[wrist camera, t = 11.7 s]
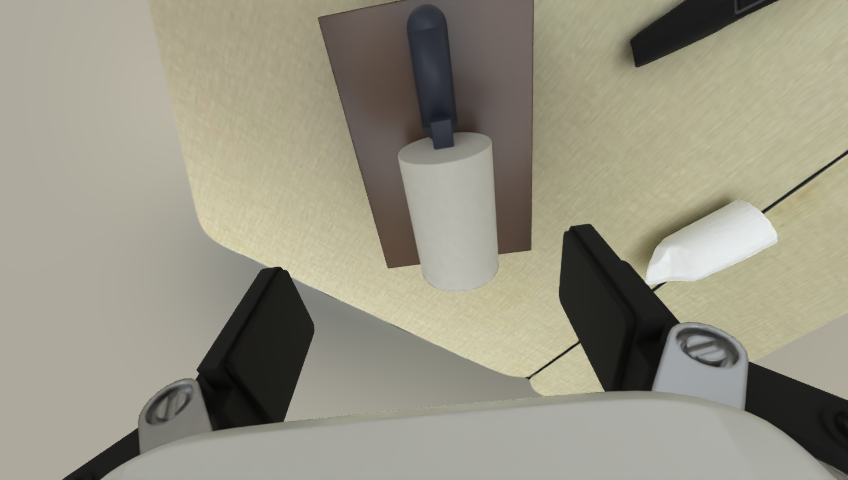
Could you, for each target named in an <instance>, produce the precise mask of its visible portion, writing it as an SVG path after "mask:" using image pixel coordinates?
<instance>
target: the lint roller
mask: <svg viewBox="0 0 848 480" xmlns="http://www.w3.org/2000/svg"><path fill="white" fill-rule="evenodd" d="M407 35H408V42H409V48H410V54H411V60H412V66H413V72H414V78H415V85H416V91H417V97H418V103H419V109H420V115H421V121H422V127H423V130H424V132H425V134H426V135H427V136H428V137H427V138H424V139H420V140H418V141H415V142H413V143H411V144H409V145H407V146H405V147H404V148H403V149H401V150H400V152H399V153H398V160H399V165H400V170H401V174H402V179H403V184H404V188H405V193H406V198H407V203H408V207H409V212H410V217H411V222H412V226H413V231H414V236H415V240H416V245H417V250H418V255H419V259H420V264H421V269H422V273H423V276H424V278H425V280H426V281H427V282H428V283H429V284H430V285H432V286H433V287H435V288H438V289H441V290H445V291H452V292H460V291H468V290H472V289H475V288H478V287H480V286H482V285H484V284H486V283H488V282H489V281H490V280H491V279H492V278H493V277H494V276H495V274H496V273H497V270H498V267H499V262H498V244H497V226H496V208H495V190H494V172H493V154H492V141H491V139H490V138H489V137H488V136H485V135H483V134H478V133H470V132H457V133H454V132H455V131H456V128H457V112H456V103H455V93H454V84H453V75H452V65H451V56H450V47H449V37H448V28H447V22H446V18H445V16H444V14H443V12H442V11H441V10H440V9H439V8H438V7H436V6H434V5H432V4H423V5H420V6H418V7H416V8H415V9H414V10H413V11H412V13H411V14H410V16H409V18H408V22H407Z"/></svg>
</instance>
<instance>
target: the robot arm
mask: <svg viewBox="0 0 848 480" xmlns="http://www.w3.org/2000/svg"><path fill="white" fill-rule="evenodd" d="M559 298H560V302H561V305H562V307H563V309H564V311H565V313H566V315H567V317H568V319H569V321H570V323H571V325H572V327H573V329H574V331H575V333H576V335H577V337H578V339H579V341H580V343H581V345H582V347H583V349H584V351H585V353H586V355H587V357H588V359H589V361H590V363H591V365H592V367H593V369H594V371H595V373H596V375H597V377H598V379H599V381H600V383H601V385H602V387H603V389H604V391H605V392H596V393H582V394H569V395H556V396H544V397H533V398H522V399H512V400H501V401H491V402H479V403H469V404H458V405H449V406H437V407H427V408H418V409H408V410H397V411H387V412H376V413H366V414H357V415H347V416H337V417H328V418H318V419H308V420H299V421H289V422H284V419H285V416H286V413H287V410H288V407H289V404H290V402H291V399H292V396H293V393H294V390H295V387H296V384H297V381H298V378H299V375H300V372H301V370H302V367H303V364H304V361H305V358H306V355H307V352H308V349H309V346H310V343H311V341H312V338H313V335H314V324H313V321H312V319H311V317H310V315H309V313H308V311H307V309H306V308H305V305H304V303H303V301H302V299H301V297H300V295H299V293H298V291H297V289H296V287H295V285H294V283H293V281H292V279H291V277H290V275H289V273H288V271H287V270H283V269H282V268H281V267H272V268H266V269H262V270H261V271H260V272H259V274H258V275H257V277H256V279H255V280H254V282H253V283H252V285H251V286H250V288H249V289H248V291H247V292H246V294H245V295H244V297H243V299H242V300H241V302H240V303H239V305H238V306H237V308H236V309H235V311H234V312H233V314H232V316H231V317H230V319H229V320H228V322H227V323H226V325H225V326H224V328H223V330H222V331H221V333H220V334H219V336H218V337H217V339H216V340H215V342H214V344H213V345H212V347H211V348H210V350H209V351H208V353H207V354H206V356H205V358H204V359H203V361H202V362H201V364H200V365H199V367H198V368H197V371H198V372H199V375H198V377H197V378H196V380H194V379H192V378H189V379H182V380H178V381H175V382H173V383H171V384H169V385H167V386H166V387H164V388H163V389H161V390H160V391H158V392H157V393H156V394H155V395H154V396H153V397H152V398H151V399H150V400H149V401H148V402H147V403H146V405H145V406H144V408H143V409H142V411H141V413H140V415H139V420H138V428H137V429H135V430H134V431H133V432H131V433H130V434H128V435H127V436H125V437H124V438H122V439H121V440H120V441H118V442H116V443H115V444H114V445H112V446H111V447H109V448H108V449H106V450H105V451H103V452H102V453H100V454H99V455H97V456H96V457H94V458H93V459H92V460H90V461H89V462H87V463H86V464H84V465H83V466H81V467H80V468H78V469H77V470H76V471H74V472H72V473H71V474H70V475H68V476H67V477H65V478H64V479H63V480H848V400H845V399H843V398H840V397H838V396H835V395H833V394H830V393H828V392H825V391H823V390H820V389H817V388H815V387H812V386H810V385H807V384H805V383H802V382H800V381H797V380H795V379H792V378H790V377H787V376H784V375H782V374H779V373H777V372H774V371H772V370H769V369H767V368H764V367H762V366H759V365H757V364H754V363H751V362H749V360H748V355H747V352H746V350H745V349H744V347H743V346H742V344H741V343H740V342H738V341H737V340H736V339H735V338H734V337H733V336H731V335H729V334H728V333H726V332H724V331H723V330H721V329H718V328H716V327H713V326H711V325H707V324H702V323H695V322H686V323H680V322H679V321H678V320H677V319H676V318H675V316H674V315H673V314H672V313H671V312H670V311H669V309H668V308H667V307H666V306H665V305H664V304H663V302H662V301H661V300H660V299H659V298H658V297H657V295H656V294H655V293H654V292H653V291H652V290H651V289H650V287H649V286H648V285H647V284H646V283H645V282H644V280H643V279H642V278H641V277H640V276H639V275H638V273H637V272H636V271H635V270H634V269H633V268H632V266H631V265H630V264H629V263H627V262H626V261H623V260H622V261H621V259H620V258H619V257H618V256H617V255H616V253H615V252H614V251H613V250H612V249H611V248H610V246H609V245H608V244H607V243H606V242H605V240H604V239H603V238H602V237H601V236H600V234H599V233H598V232H597V231H596V230H595V229H594V227H593V226H592V225H591V224H584V225H576V226H571V227H570V229H569V231H565V232H564V236H563V248H562V261H561V273H560V286H559Z"/></svg>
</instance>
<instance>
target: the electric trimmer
mask: <svg viewBox="0 0 848 480" xmlns="http://www.w3.org/2000/svg"><path fill="white" fill-rule="evenodd" d="M776 1H778V0H686V1H684V2H683V3H681V4H680V5H679V6H677V7H676V8H674V9H673V10H671V11H670V12H668V13H667V14H666V15H664V16H663V17H661V18H660V19H658V20H657V21H655V22H654V23H653V24H651V25H650V26H648V27H647V28H645V29H644V30H642V31H641V32H640V33H638V34H637V35H636V36H634V37H633V38H632V39H631V41H630V43H631V47H632V52H633V56H634V62H635V67H640V66H643V65H645V64H648V63H650V62H652V61H655V60H657V59H659V58H661V57H663V56H666V55H668V54H670V53H672V52H674V51H677V50H679V49H681V48H683V47H685V46H688V45H690V44H692V43H694V42H696V41H698V40H701V39H703V38H705V37H707V36H709V35H711V34H713V33H715V32H717V31H719V30H721V29H722V28H724V27H726V26H727V25H729V24H731V23H733V22H735V21H737V20H739V19H741V18H743V17H745V16H746V15H748V14H751V13H753V12H755V11H757V10H759V9H761V8H763V7H765V6H767V5H769V4H772V3H774V2H776Z"/></svg>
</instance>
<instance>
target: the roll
mask: <svg viewBox="0 0 848 480" xmlns="http://www.w3.org/2000/svg"><path fill="white" fill-rule="evenodd" d="M777 240H778V235H777V233H776V231H775V229H774V227H773V226H772V224H771V223H770V222H769V220H768V219H767V218H766V217H765V216H764V215H763V214H762V213H761V212H760V211H759V210H758V209H757V208H755V207H754V206H753V205H752V204H750V203H748V202H746V201H744V200H741V199H737V200H735V201H733V202H732V203H730V204H728V205H726V206H724V207H722V208H721V209H719V210H717V211H715V212H713V213H711V214H709V215H707V216H705V217H703V218H701V219H699V220H697V221H695V222H694V223H692V224H690V225H688V226H686V227H684V228H682V229H680V230H679V231H677V232H675V233H673V234H671V235H669V236H667V237H666V238H664V239H663V240H662V241H661V243H660V244H659V245H658V246H657V247H656V249H655V250H654V253H653V255H652V259H651V260H650V261H649V265H648V267H647V268H648V269H647V273H646V276H647V277H646V280H645V283H646V284H648V285H653V284H658V283H663V282H666V281H698V280H700V279H703V278H705V277H707V276H709V275H711V274H714V273H716V272H718V271H720V270H722V269H725V268H727V267H729V266H732V265H734V264H737V263H739V262H741V261H743V260H745V259H747V258H749V257H751V256H753V255H754V254H756V253H758V252H760V251H761V250H763V249H765V248H767V247H769V246H771V245H774V244H775V243H776V242H777Z"/></svg>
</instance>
